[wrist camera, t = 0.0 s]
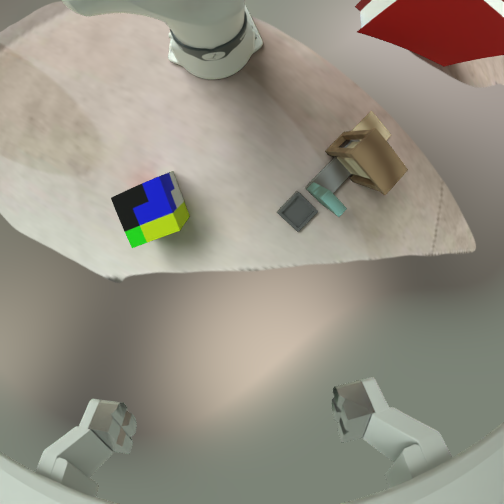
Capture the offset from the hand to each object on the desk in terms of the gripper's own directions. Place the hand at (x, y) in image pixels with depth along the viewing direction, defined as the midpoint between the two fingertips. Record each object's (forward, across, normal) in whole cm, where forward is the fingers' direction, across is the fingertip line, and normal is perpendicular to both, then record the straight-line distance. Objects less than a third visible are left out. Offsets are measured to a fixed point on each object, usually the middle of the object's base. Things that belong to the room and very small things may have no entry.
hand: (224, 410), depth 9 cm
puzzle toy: (+48, +16, -1) cm, 51 cm away
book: (+48, -45, -36) cm, 75 cm away
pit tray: (+48, -12, +6) cm, 50 cm away
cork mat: (+48, -30, -10) cm, 57 cm away
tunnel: (+48, -24, -5) cm, 54 cm away
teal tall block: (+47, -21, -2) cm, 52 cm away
